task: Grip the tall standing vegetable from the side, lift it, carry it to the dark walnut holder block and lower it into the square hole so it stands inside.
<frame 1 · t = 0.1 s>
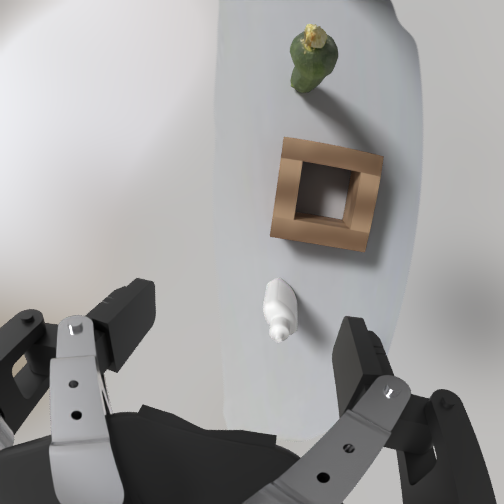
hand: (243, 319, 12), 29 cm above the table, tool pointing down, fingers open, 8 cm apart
vegetable: (306, 86, 33), on the table
eye dropper bottle: (282, 293, 43), on the table
socket: (322, 190, 38), on the table
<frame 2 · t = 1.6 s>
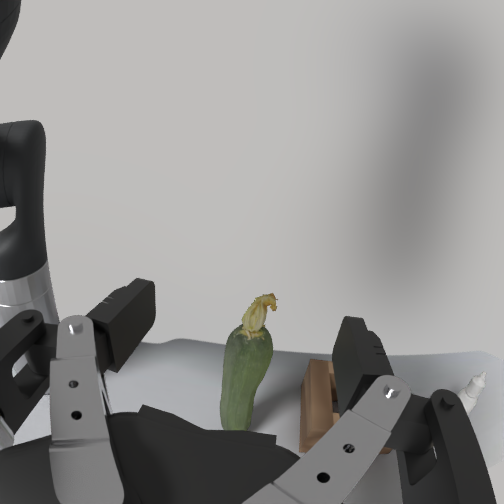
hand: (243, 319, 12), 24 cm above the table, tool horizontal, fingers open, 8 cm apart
vegetable: (234, 430, 30), on the table
eye dropper bottle: (440, 433, 28), on the table
socket: (343, 419, 33), on the table
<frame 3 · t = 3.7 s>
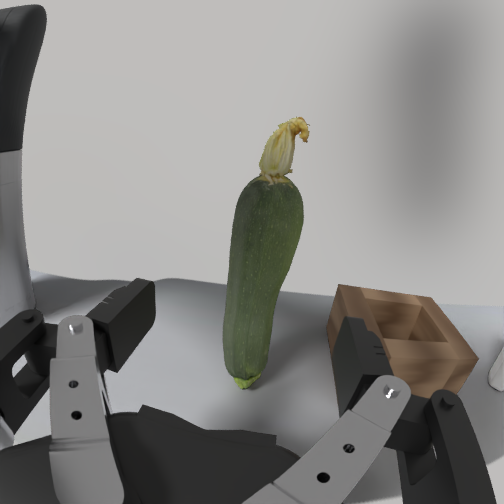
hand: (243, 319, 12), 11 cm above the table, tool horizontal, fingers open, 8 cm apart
vegetable: (243, 378, 23), on the table
eye dropper bottle: (497, 380, 21), on the table
socket: (386, 364, 25), on the table
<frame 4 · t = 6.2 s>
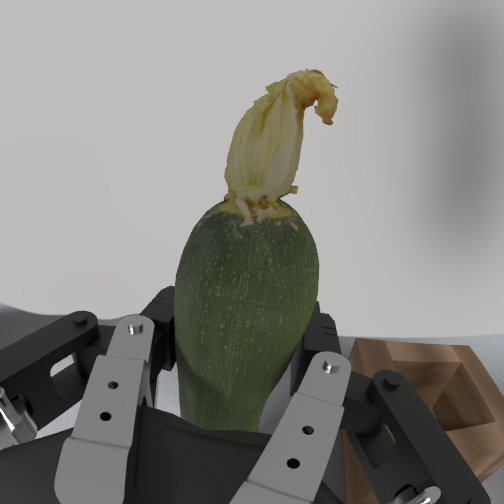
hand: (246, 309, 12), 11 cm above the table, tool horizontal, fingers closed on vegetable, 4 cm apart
vegetable: (219, 476, 14), on the table, touching gripper
socket: (410, 439, 16), on the table
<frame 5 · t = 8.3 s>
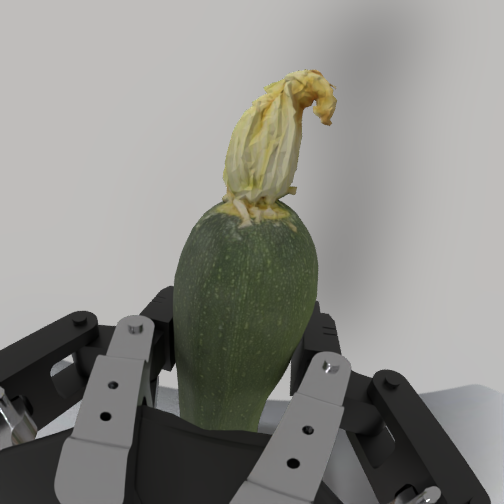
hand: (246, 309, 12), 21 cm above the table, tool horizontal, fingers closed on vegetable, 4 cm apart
vegetable: (219, 476, 14), point 10 cm above the table, touching gripper
when the fingers open (12 cm above the table, at t = 10.8 s): vegetable drops 1 cm, on the table.
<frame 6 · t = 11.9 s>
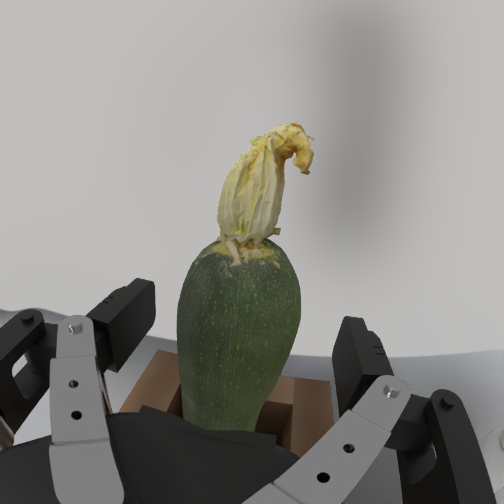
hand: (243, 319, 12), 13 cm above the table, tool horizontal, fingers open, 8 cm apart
vegetable: (221, 481, 14), on the table
socket: (219, 477, 14), on the table
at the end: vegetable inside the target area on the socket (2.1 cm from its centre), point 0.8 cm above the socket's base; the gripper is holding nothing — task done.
